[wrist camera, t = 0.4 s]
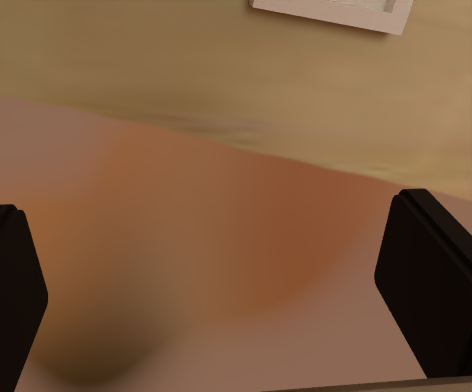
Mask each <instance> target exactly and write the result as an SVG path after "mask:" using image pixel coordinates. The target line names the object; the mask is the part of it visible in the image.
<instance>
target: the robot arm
mask: <svg viewBox="0 0 472 392" xmlns="http://www.w3.org/2000/svg"><path fill="white" fill-rule="evenodd" d="M374 279H375V284H376V286H377V288H378V290H379V292H380V294H381V295H382V297H383V299H384V301H385V303H386V305H387V306H388V308H389V310H390V312H391V313H392V316H393V317H394V319H395V321H396V323H397V324H398V326H399V328H400V330H401V332H402V334H403V335H404V337H405V339H406V341H407V343H408V344H409V346H410V348H411V350H412V351H413V353H414V355H415V357H416V359H417V361H418V362H419V364H420V366H421V368H422V370H423V371H424V373H425V375H426V377H427V379H416V380H402V381H389V382H376V383H363V384H350V385H337V386H324V387H312V388H299V389H288V390H275V391H262V392H472V235H471V234H469V232H468V231H467V230H466V229H465V228H464V227H463V226H462V225H461V224H460V223H459V222H458V221H457V220H456V219H455V218H454V217H453V216H452V215H451V214H450V213H449V212H448V211H447V210H446V209H445V208H444V207H443V206H442V205H441V204H440V203H439V202H438V201H437V200H436V199H435V198H434V197H433V195H431V193H430V192H429V191H428V190H426V189H403V190H401V191H400V192H399V194H398V195H395V196H394V197H393V199H392V202H391V207H390V211H389V215H388V219H387V223H386V227H385V231H384V236H383V240H382V244H381V248H380V252H379V256H378V261H377V265H376V269H375V274H374ZM47 304H48V292H47V288H46V284H45V281H44V277H43V274H42V270H41V267H40V263H39V260H38V257H37V254H36V250H35V247H34V243H33V239H32V236H31V232H30V229H29V226H28V222H27V219H26V215H25V213H24V211H23V210H17V208H16V207H15V206H14V205H13V204H6V205H0V392H14V390H15V387H16V385H17V383H18V380H19V377H20V375H21V372H22V370H23V367H24V364H25V362H26V359H27V356H28V354H29V351H30V349H31V346H32V344H33V341H34V338H35V336H36V333H37V331H38V328H39V326H40V323H41V320H42V318H43V315H44V313H45V310H46V307H47Z"/></svg>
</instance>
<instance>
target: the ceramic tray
mask: <svg viewBox="0 0 472 392" xmlns="http://www.w3.org/2000/svg"><path fill="white" fill-rule="evenodd" d="M413 1H414V0H249V4H250V5H251V6H252V7H254V8H259V9H265V10H270V11H275V12H280V13H286V14H291V15H296V16H302V17H307V18H312V19H317V20H323V21H328V22H333V23H338V24H344V25H349V26H354V27H360V28H365V29H370V30H375V31H381V32H386V33H391V34H397V35H402V32H403V29H404V26H405V24H406V21H407V18H408V15H409V12H410V10H411V7H412V4H413Z"/></svg>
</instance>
